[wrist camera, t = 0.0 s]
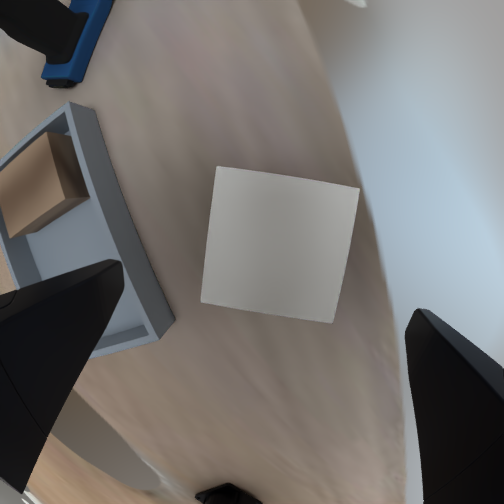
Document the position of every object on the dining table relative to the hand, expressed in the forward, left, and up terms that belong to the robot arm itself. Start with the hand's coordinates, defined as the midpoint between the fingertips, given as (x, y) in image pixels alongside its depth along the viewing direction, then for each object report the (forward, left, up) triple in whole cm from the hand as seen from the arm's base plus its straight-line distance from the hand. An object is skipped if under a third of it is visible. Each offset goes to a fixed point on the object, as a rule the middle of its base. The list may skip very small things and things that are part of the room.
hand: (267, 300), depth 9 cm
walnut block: (-12, +17, -15) cm, 26 cm away
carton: (+1, 0, -15) cm, 15 cm away
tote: (-14, +11, -15) cm, 24 cm away
